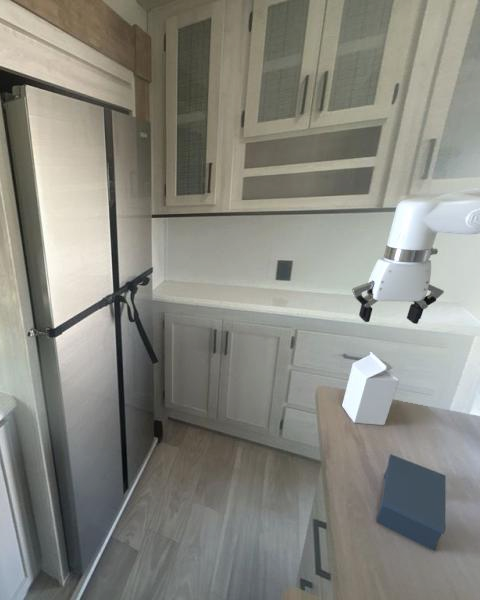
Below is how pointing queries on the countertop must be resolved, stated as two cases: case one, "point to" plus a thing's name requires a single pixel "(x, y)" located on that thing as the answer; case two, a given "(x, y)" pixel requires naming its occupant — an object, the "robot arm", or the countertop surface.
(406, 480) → the navy blue slab
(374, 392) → the milk carton
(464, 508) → the countertop surface
